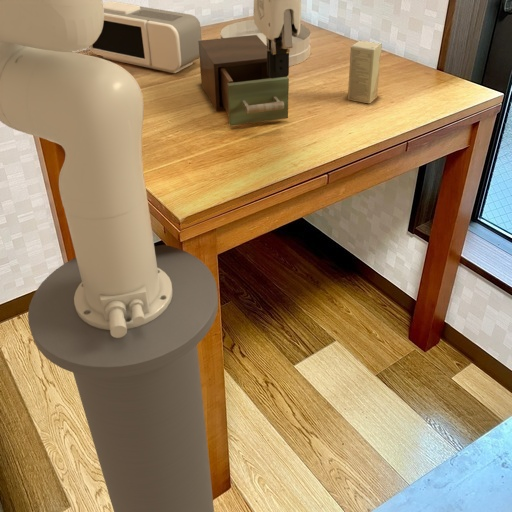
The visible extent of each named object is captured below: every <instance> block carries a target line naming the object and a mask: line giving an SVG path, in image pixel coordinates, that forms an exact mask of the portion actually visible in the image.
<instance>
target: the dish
mask: <svg viewBox="0 0 512 512" xmlns="http://www.w3.org/2000/svg"><path fill="white" fill-rule="evenodd" d="M311 33H312V32H311V30H310V28H309V27H307V26H306V25H305V24H302V23H301V24H300V33H299V35H298V36H297V37H293V36H292V43H293V47H292V48H290V52H289V67H292V66H296V65H298V64H301V63H304V62H305V61H306V60H307V59H309V58H310V56H311V51H312V50H311V49H312V47H311V46H312V44H311ZM250 35H257V36H258V37H259V38H260V39H261V41H262V42H263V43H264V44H265V45H266V46H267V42H266V36H265V35H264V34H263V33H262V32H261V31H260V30H259V29H258V28H257V26H256V25H255V23H254V19H247V20H245V19H244V20H242V21H237V22H233V23H230V24H228V25H226V26H224V27H222V29H221V30H220V38H230V37H240V36H250Z"/></svg>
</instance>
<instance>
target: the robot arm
mask: <svg viewBox="0 0 512 512" xmlns="http://www.w3.org/2000/svg"><path fill="white" fill-rule="evenodd" d="M103 3H104V2H103V0H0V122H1V123H2V124H3V125H5V126H7V127H8V128H11V129H12V130H15V131H18V132H21V133H24V134H26V135H31V136H33V137H36V138H39V139H43V140H47V141H48V142H50V143H51V142H52V143H55V144H57V145H59V146H61V147H62V149H63V151H64V154H65V155H64V161H63V163H62V166H61V168H60V171H59V175H58V189H59V195H60V199H61V203H62V207H63V209H64V214H65V218H66V223H67V226H68V230H69V234H70V238H71V243H72V247H73V250H74V254H75V258H76V259H77V263H78V267H79V271H80V275H81V279H82V282H81V283H80V285H79V286H78V288H77V290H76V292H75V296H74V304H75V308H76V311H77V313H78V315H79V317H80V318H81V319H82V320H83V321H84V322H86V323H88V324H89V325H91V326H94V327H97V328H100V329H105V330H110V333H111V335H112V336H113V337H116V338H120V337H123V336H125V334H126V333H127V329H131V328H135V327H138V326H141V325H144V324H146V323H148V322H150V321H152V320H154V319H155V318H157V317H158V316H159V315H161V314H162V313H163V312H164V311H165V310H166V308H167V307H168V305H169V304H170V302H171V299H172V292H173V290H172V283H171V281H170V278H169V277H168V275H167V274H166V273H165V272H164V271H162V270H161V269H159V268H157V262H156V255H155V248H154V246H155V242H154V234H153V229H152V222H151V221H152V220H151V214H150V207H149V199H148V193H147V187H146V179H145V173H144V163H143V128H144V127H143V126H144V114H145V113H144V112H145V105H144V104H145V103H144V96H143V92H142V89H141V87H140V85H139V83H138V81H137V80H136V78H135V77H134V76H133V75H132V74H131V72H129V71H128V70H127V69H125V68H124V67H122V66H121V65H119V64H117V63H115V62H113V61H110V60H109V59H106V58H103V57H98V56H94V55H89V54H83V53H79V51H83V50H85V49H87V48H89V46H91V45H92V44H93V43H95V41H96V40H97V39H98V37H99V36H100V34H101V32H102V29H103V23H104V9H103ZM301 17H302V0H253V20H254V23H255V25H256V26H257V28H258V29H259V30H260V31H261V32H262V33H263V34H264V35H265V36H266V42H267V50H270V51H267V74H268V75H269V77H270V78H272V79H273V78H280V77H289V74H290V66H289V52H290V48H292V47H293V43H292V36H293V37H297V36H298V35H299V33H300V24H302V23H301V22H302V21H301V20H302V18H301Z"/></svg>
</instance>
